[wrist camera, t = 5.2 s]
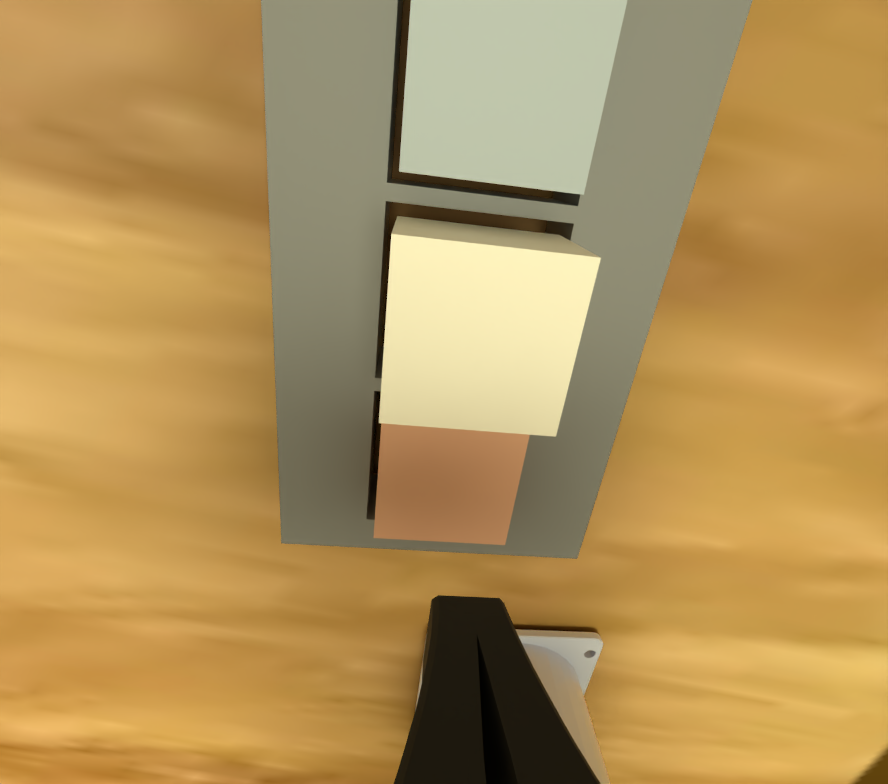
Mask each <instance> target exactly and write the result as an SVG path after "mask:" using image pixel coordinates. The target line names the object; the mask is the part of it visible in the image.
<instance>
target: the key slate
mask: <svg viewBox="0 0 888 784" xmlns="http://www.w3.org/2000/svg"><path fill="white" fill-rule="evenodd" d="M626 5H627V0H411V6H410V20H409V35H408V49H407V63H406V78H405V92H404V106H403V121H402V135H401V149H400V164H399V172H407V173H414V174H422V175H430V176H438V177H446V178H454V179H462V180H470V181H478V182H486V183H494V184H502V185H510V186H517V187H525V188H533V189H541V190H549V191H557V192H565V193H573V194H581V195H584V192H585V187H586V183H587V178H588V174H589V170H590V165H591V161H592V156H593V152H594V147H595V143H596V138H597V134H598V129H599V125H600V121H601V116H602V112H603V107H604V103H605V98H606V94H607V89H608V85H609V80H610V76H611V72H612V67H613V63H614V58H615V54H616V49H617V45H618V40H619V36H620V31H621V27H622V23H623V18H624V14H625V9H626Z"/></svg>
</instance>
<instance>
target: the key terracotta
mask: <svg viewBox="0 0 888 784" xmlns="http://www.w3.org/2000/svg"><path fill="white" fill-rule="evenodd" d="M529 436H530V435H528V434H515V433H502V432H488V431H475V430H462V429H449V428H436V427H423V426H410V425H397V424H384V423H381V437H380V451H379V465H378V480H377V494H376V508H375V523H374V537H373V538H382V539H401V540H419V541H438V542H456V543H475V544H494V545H505V543H506V539H507V534H508V530H509V525H510V521H511V516H512V512H513V508H514V503H515V499H516V494H517V490H518V485H519V481H520V476H521V472H522V467H523V463H524V459H525V454H526V450H527V445H528V441H529Z"/></svg>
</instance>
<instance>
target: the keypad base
mask: <svg viewBox="0 0 888 784" xmlns="http://www.w3.org/2000/svg"><path fill="white" fill-rule="evenodd" d="M751 3H752V0H627V5H626V9H625V14H624V18H623V23H622V27H621V31H620V36H619V40H618V45H617V49H616V54H615V58H614V63H613V67H612V72H611V76H610V80H609V85H608V89H607V94H606V98H605V103H604V107H603V112H602V116H601V121H600V125H599V129H598V134H597V138H596V143H595V147H594V152H593V156H592V161H591V165H590V170H589V174H588V178H587V183H586V187H585V192H584V195H581V194H573V193H565V192H557V191H553V196H552V198H546V197H538V196H530V195H522V194H514V193H506V192H498V191H490V190H482V189H474V188H466V187H458V186H450V185H442V184H434V183H426V182H418V181H410V180H402V179H394V178H392V168H393V153H394V137H395V121H396V106H397V90H398V75H399V59H400V44H401V28H402V13H403V0H261V9H262V36H263V63H264V89H265V116H266V143H267V170H268V196H269V223H270V250H271V277H272V304H273V330H274V357H275V384H276V411H277V438H278V464H279V491H280V518H281V543H285V544H304V545H324V546H343V547H362V548H381V549H401V550H420V551H439V552H458V553H478V554H497V555H516V556H535V557H555V558H574V559H577V558H578V555H579V551H580V548H581V545H582V542H583V539H584V535H585V532H586V529H587V526H588V523H589V519H590V516H591V513H592V510H593V507H594V504H595V500H596V497H597V494H598V491H599V488H600V484H601V481H602V478H603V475H604V472H605V468H606V465H607V462H608V459H609V456H610V453H611V449H612V446H613V443H614V440H615V437H616V433H617V430H618V427H619V424H620V421H621V417H622V414H623V411H624V408H625V405H626V402H627V398H628V395H629V392H630V389H631V386H632V382H633V379H634V376H635V373H636V370H637V366H638V363H639V360H640V357H641V354H642V351H643V347H644V344H645V341H646V338H647V335H648V331H649V328H650V325H651V322H652V319H653V315H654V312H655V309H656V306H657V303H658V300H659V296H660V293H661V290H662V287H663V284H664V280H665V277H666V274H667V271H668V268H669V264H670V261H671V258H672V255H673V252H674V249H675V245H676V242H677V239H678V236H679V233H680V229H681V226H682V223H683V220H684V217H685V213H686V210H687V207H688V204H689V201H690V198H691V194H692V191H693V188H694V185H695V182H696V178H697V175H698V172H699V169H700V166H701V162H702V159H703V156H704V153H705V150H706V147H707V143H708V140H709V137H710V134H711V131H712V127H713V124H714V121H715V118H716V115H717V111H718V108H719V105H720V102H721V99H722V96H723V92H724V89H725V86H726V83H727V80H728V76H729V73H730V70H731V67H732V64H733V60H734V57H735V54H736V51H737V48H738V45H739V41H740V38H741V35H742V32H743V29H744V25H745V22H746V19H747V16H748V13H749V9H750V6H751ZM390 202H398V203H407V204H415V205H423V206H432V207H440V208H448V209H457V210H465V211H473V212H482V213H490V214H498V215H507V216H515V217H523V218H532V219H540V220H548V221H547V226H546V231H545V233H548V234H556V235H561V236H563V237H564V238H566V239H568V240H570V241H572V242H573V243H575V244H577V245H579V246H581V247H582V248H584V249H586V250H588V251H590V252H592V253H593V254H595V255H597V256H599V257H601V260H600V264H599V268H598V272H597V276H596V280H595V283H594V287H593V291H592V295H591V299H590V303H589V307H588V311H587V315H586V319H585V323H584V327H583V331H582V335H581V339H580V343H579V347H578V351H577V355H576V359H575V363H574V367H573V371H572V375H571V379H570V383H569V387H568V391H567V395H566V399H565V403H564V407H563V411H562V415H561V418H560V422H559V426H558V430H557V434H556V437H554V436H541V435H530V436H529V441H528V445H527V450H526V454H525V459H524V463H523V467H522V472H521V476H520V481H519V485H518V490H517V494H516V499H515V503H514V508H513V512H512V516H511V521H510V525H509V530H508V534H507V539H506V543H505V545H494V544H475V543H456V542H438V541H419V540H401V539H382V538H373V537H374V523H375V508H376V494H377V480H378V474H373V464H374V448H375V433H376V417H377V402H378V391H381V382H382V367H383V352H384V346H381V339H382V324H383V308H384V293H385V277H386V262H387V246H388V230H389V215H390Z"/></svg>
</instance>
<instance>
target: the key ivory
mask: <svg viewBox="0 0 888 784" xmlns="http://www.w3.org/2000/svg"><path fill="white" fill-rule="evenodd" d="M600 260H601V257H599V256H597V255H595V254H593V253H592V252H590V251H588V250H586V249H584V248H582V247H581V246H579V245H577V244H575V243H573V242H572V241H570V240H568V239H566V238H564V237H563V236H561V235H556V234H548V233H539V232H531V231H522V230H514V229H505V228H497V227H488V226H480V225H471V224H463V223H454V222H446V221H437V220H429V219H420V218H412V217H403V216H397V219H396V222H395V225H394V228H393V231H392V234H391V247H390V262H389V277H388V292H387V307H386V322H385V337H384V352H383V367H382V382H381V397H380V412H379V423H384V424H397V425H410V426H423V427H436V428H449V429H462V430H475V431H488V432H502V433H515V434H528V435H541V436H554V437H556V434H557V430H558V426H559V422H560V418H561V415H562V411H563V407H564V403H565V399H566V395H567V391H568V387H569V383H570V379H571V375H572V371H573V367H574V363H575V359H576V355H577V351H578V347H579V343H580V339H581V335H582V331H583V327H584V323H585V319H586V315H587V311H588V307H589V303H590V299H591V295H592V291H593V287H594V283H595V280H596V276H597V272H598V268H599V264H600Z"/></svg>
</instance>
